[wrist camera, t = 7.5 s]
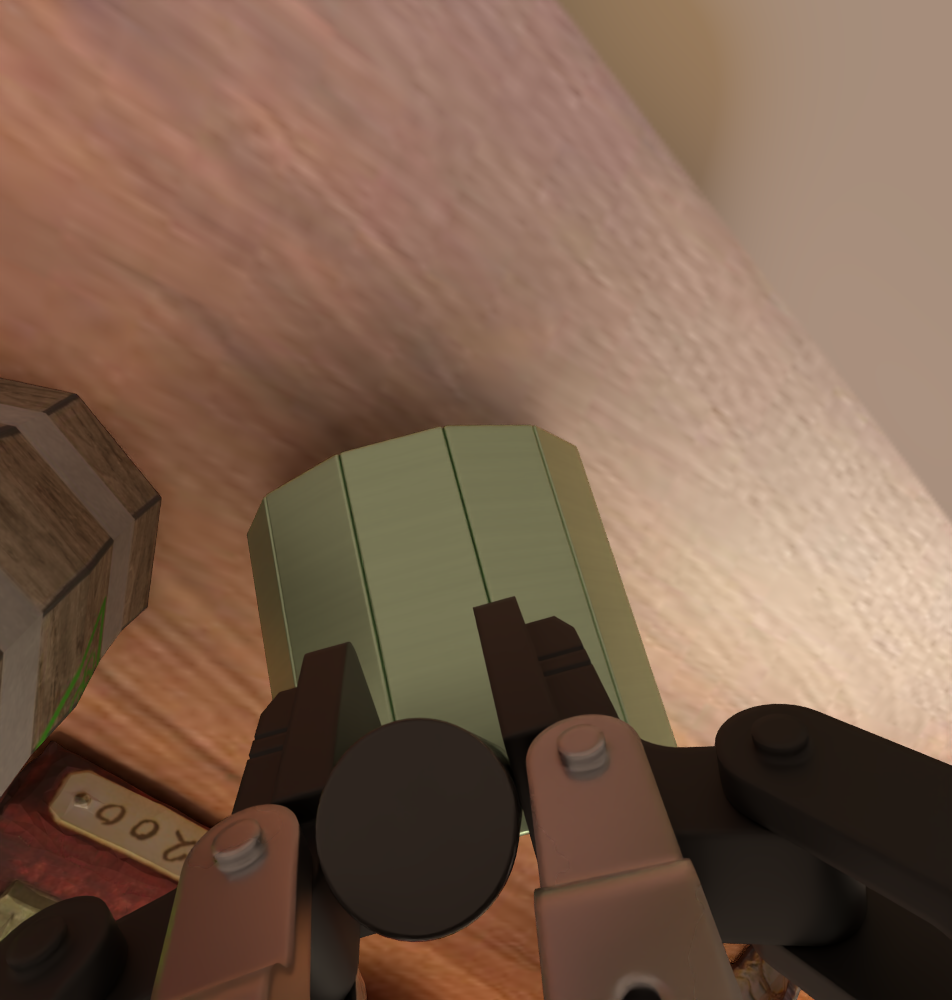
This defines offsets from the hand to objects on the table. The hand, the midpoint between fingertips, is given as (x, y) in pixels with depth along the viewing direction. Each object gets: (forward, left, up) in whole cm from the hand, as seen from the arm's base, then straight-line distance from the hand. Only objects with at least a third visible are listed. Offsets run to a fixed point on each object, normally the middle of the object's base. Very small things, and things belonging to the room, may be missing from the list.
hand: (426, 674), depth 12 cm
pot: (-2, 0, -7) cm, 7 cm away
